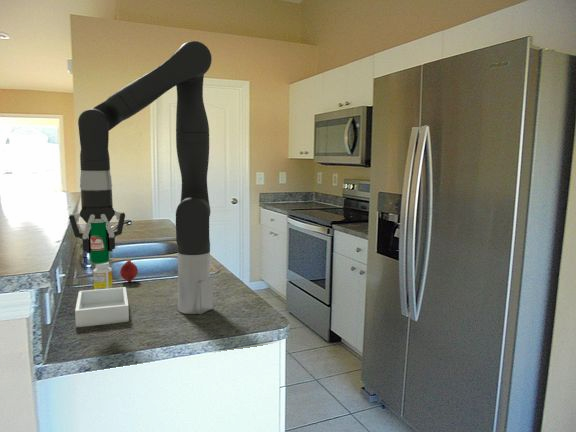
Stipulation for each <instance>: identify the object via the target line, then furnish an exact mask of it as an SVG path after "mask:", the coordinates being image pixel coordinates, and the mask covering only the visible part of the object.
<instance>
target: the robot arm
mask: <svg viewBox="0 0 576 432" xmlns="http://www.w3.org/2000/svg"><path fill="white" fill-rule="evenodd" d="M211 65H212V53H211V50H210V49H209V48H208V46H207V45H205V43H202V42H201V41H197V40H191V41H187V42H184V43H183V44H182V45H181V46H180V47H179V48H178V49H177V50H176V51H175V53H174V54H172V55H171V56H170V57H169V58H168V59H167V60H165V61H164V62H163V63H162V64H160V65H159V66H157V67H156V68H154V69H152V70H151V71H149V72H148V73H146V74H144V75H142V76H140V77H139V78H137V79H135V80H133V81H132V82H130V83H129V84H127V85H125V86H123V87H122V88H120V89H119V90H117V91H116V92H114V93H113V94H111V95H110V96H108V97H107V99H106V100H105V101H103V102H101V103H99V104H98V105H96V106H94V107H93V108H87V109H86V110H83V111H82V112H81V114H79V117H78V120H77V124H78V136H79V145H80V153H79V154H80V155H79V158H80V159H79V161H80V162H79V163H80V166H79V167H80V178H79V179H80V182H79V183H80V184H79V188H80V201H81V210H80V211H79V212H77V213H71V214H69V215H68V219H69V222H70V226H71V229H72V232H73V235H74V237H75V238H80V239H82V250H83V251H84V252H85V253H86V254H89V238H88V234H89V232H90V229H91V222H93V221H94V219H99V218H101V219H102V221H105V222H107V223H106V229H107V231H108V233H109V246H110V252H111V253H112V252H113V250H115V249H116V237H117V236H121V235H122V233H123V230H124V223H125V218H126V213H125V212H124V211H121V212H120V211H115V209H114V207H113V206H114V203H113V183H112V175H111V166H110V164H111V161H110V153H109V135H110V134H109V133H110V131H111V130H112V129H114V128H115V127H116V126H117V125H119V124H120V123H122V122H124V121H125V120H128V119H130V118H131V117H133V116H134V115H136V114H137V113H139V112H141V111H142V110H144V109H145V108H147V107H149V106H150V105H151V104H152V103H154V102H155V101H156V100H158V99H159V98H160V97H161V96H163V95H164V94H166V93H167V92H168V91H170V90H171V89H173V88H174V87H176V113H175V114H176V115H175V116H176V117H175V144H176V145H175V146H176V156H177V160H178V162H177V163H178V166H179V170H180V172H179V173H180V177H181V192H180V193H181V194H180V202H179V204H178V206H177V207H176V211H175V235H176V237H175V238H176V240H175V241H176V246H177V298H178V299H177V300H178V301H177V303H178V307H177V308H178V311H179V312H180V313H182V314H186V315H187V314H188V315H203V314H204V313H206V312H208V311H211V310H213V309H214V278H213V276H211V242H210V241H211V240H210V239H211V238H210V216H211V206H210V200H209V199H210V198H209V191H208V189H209V188H208V170H209V161H210V160H209V159H210V124H209V119H208V115H207V112H206V108H205V104H204V95H203V94H204V80H205V79H204V77H205V74H207V72H208V71H209V70H210V67H211ZM114 216H115V217H116V218H115V219H116V220H117V221H118V222H117V227H116V230H114V229H113V228H112V225H111V223H110V222H111V220H112V219H113V218H114ZM80 218H81V219H82V220H83V221H84V222H85V226H84V230H83V232H80V228H79V226H78V222H79V220H80ZM107 225H108V226H107Z"/></svg>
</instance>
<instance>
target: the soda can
mask: <svg viewBox="0 0 576 432" xmlns="http://www.w3.org/2000/svg"><path fill="white" fill-rule="evenodd" d="M106 223H107V222H105V221H102V219H101V218H99V219H94V221H93V222H91V229H90V232H89V234H88V238H89V253H88V254H89V255H88V257H89V258H88V259H89V262H90V263H91V264H93V265H96V264H104V263H107V262H110V260H111V253H110V246H109V237H110V235H109V233H108V231H107V229H106ZM107 226H108V225H107Z"/></svg>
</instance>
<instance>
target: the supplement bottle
mask: <svg viewBox="0 0 576 432" xmlns="http://www.w3.org/2000/svg"><path fill="white" fill-rule="evenodd" d="M109 262H110V261H109ZM109 262H107V263H104V264H95V268H94V269H93V290H98V289H110V288H114V286H113V284H114V283H113V269H112V267H110V263H109Z"/></svg>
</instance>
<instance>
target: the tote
mask: <svg viewBox="0 0 576 432" xmlns="http://www.w3.org/2000/svg"><path fill="white" fill-rule="evenodd" d="M129 310H130V309H129V301H128V294H127V287H126V286H123V287H113V288H110V289H98V290H94V289H88V290H79V291H78V295H77V299H76V305H75V310H74V316H75V317H74V318H75V328H82V327H91V326H100V325H107V324H108V325H109V324H118V323H127V322H129V321H130V316H129Z"/></svg>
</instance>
